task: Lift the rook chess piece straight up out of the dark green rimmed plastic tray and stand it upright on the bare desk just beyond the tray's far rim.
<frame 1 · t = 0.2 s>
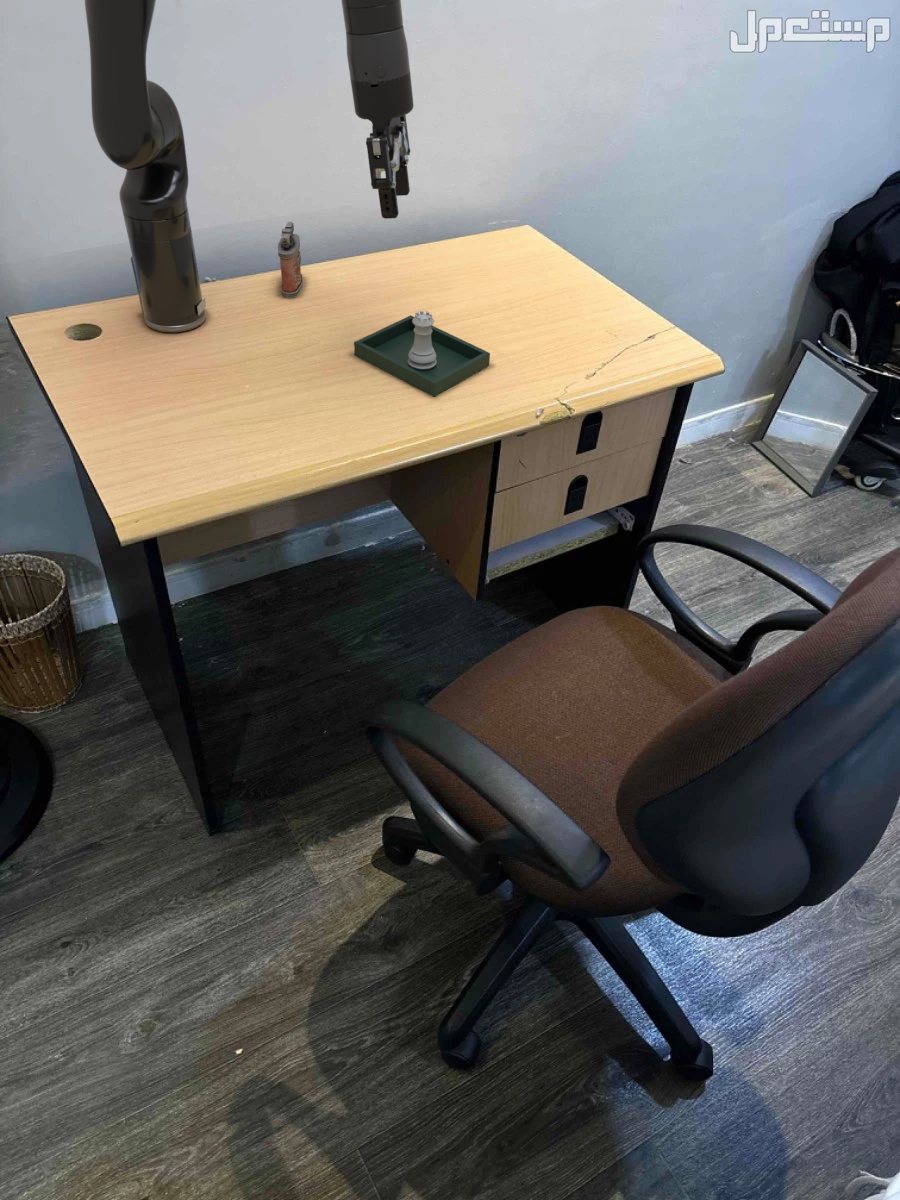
hand: (396, 205, 120), 22 cm above the table, tool pointing down, fingers open, 8 cm apart
tray: (421, 360, 134), on the table
lighter: (292, 288, 150), on the table
rook chess piece: (422, 365, 133), resting on tray
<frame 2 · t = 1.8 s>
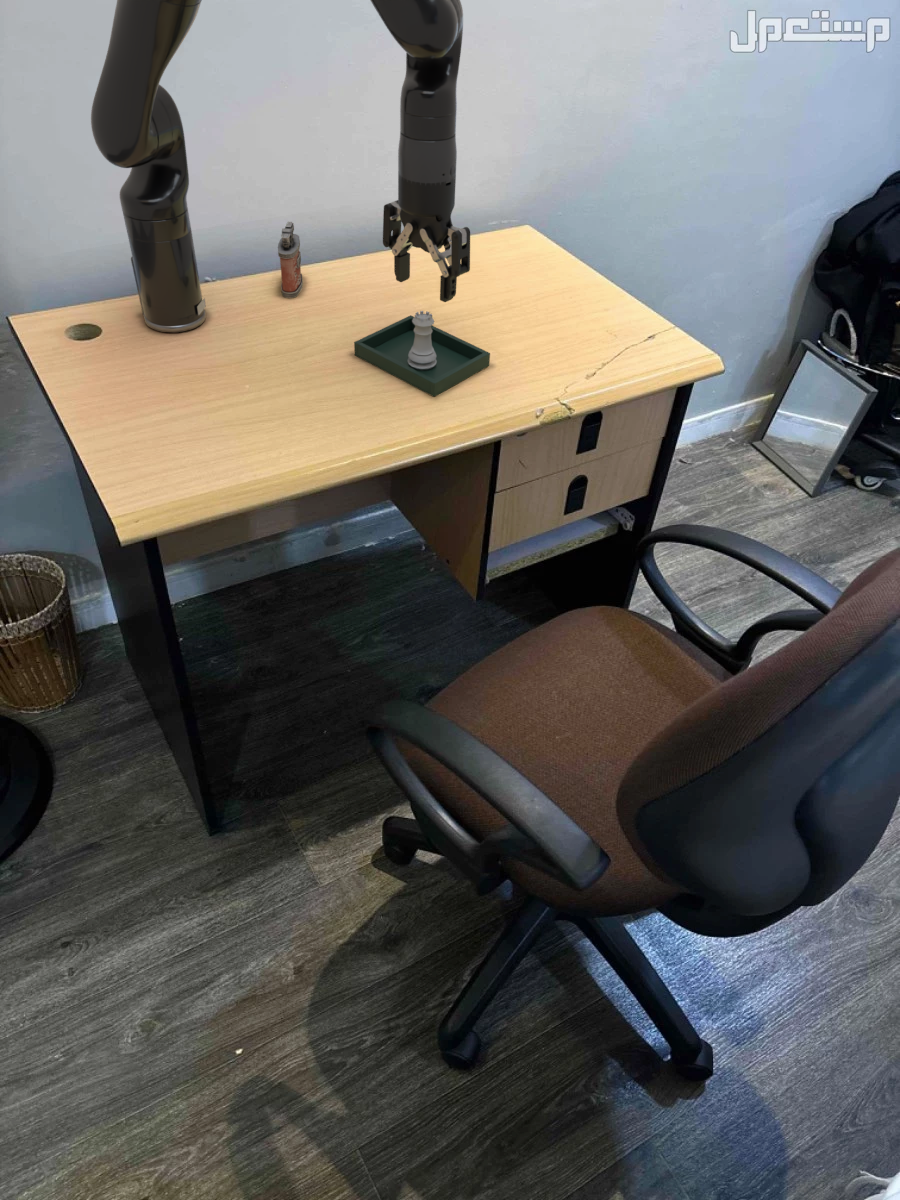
hand: (424, 289, 125), 12 cm above the table, tool pointing down, fingers open, 8 cm apart
nothing on the table moved.
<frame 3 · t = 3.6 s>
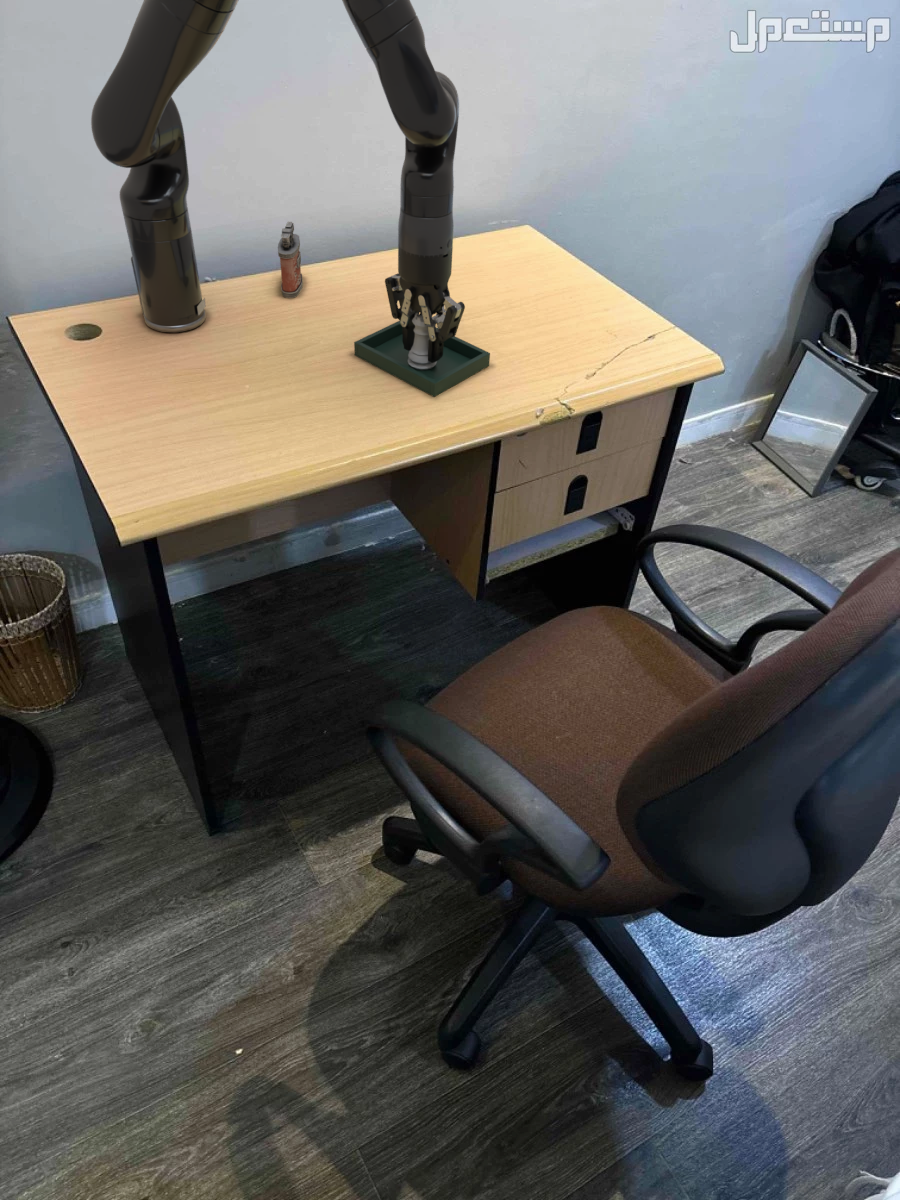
hand: (422, 354, 132), 2 cm above the table, tool pointing down, fingers closed on rook chess piece, 4 cm apart
rook chess piece: (422, 365, 133), resting on tray, touching gripper
everything else where it was.
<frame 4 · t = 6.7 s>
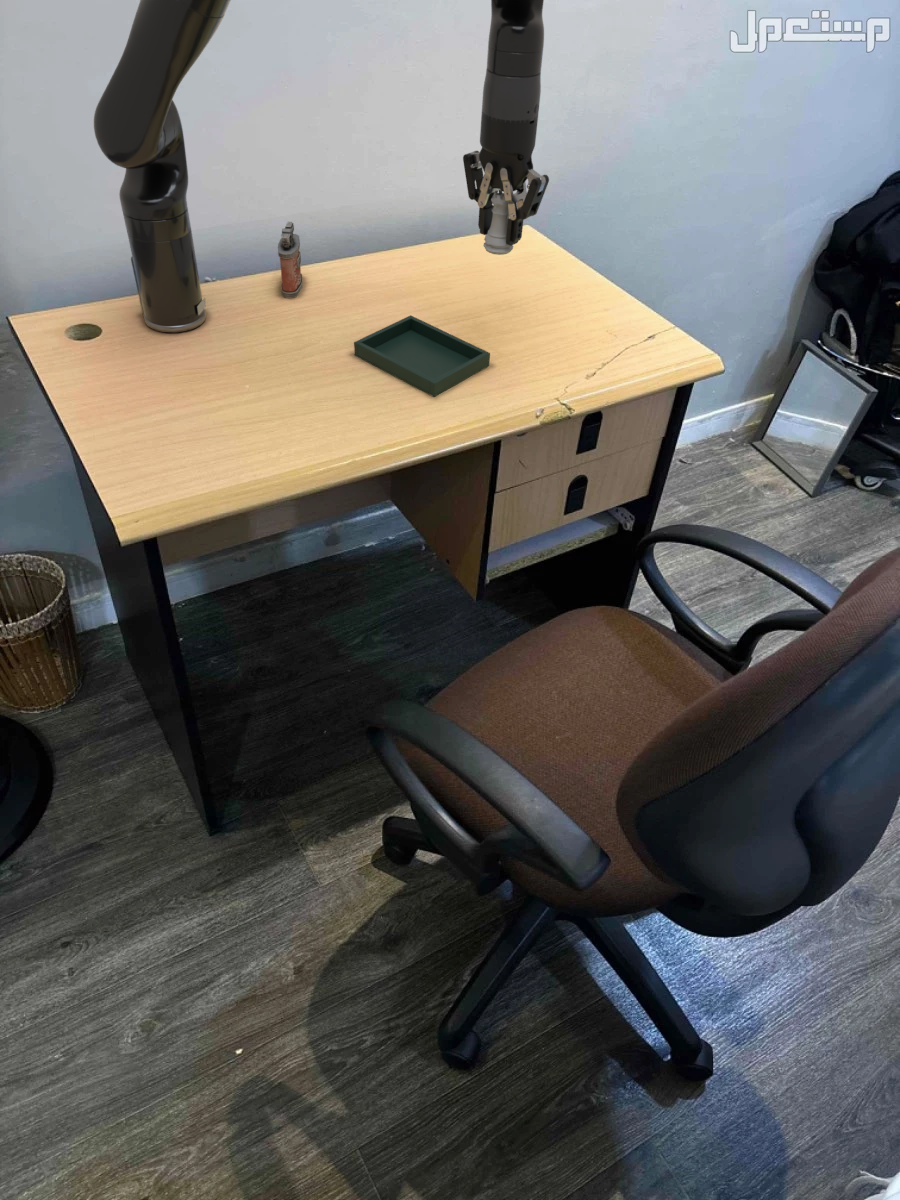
hand: (499, 237, 127), 17 cm above the table, tool pointing down, fingers closed on rook chess piece, 4 cm apart
rook chess piece: (497, 250, 129), point 15 cm above the table, touching gripper
everything else where it was.
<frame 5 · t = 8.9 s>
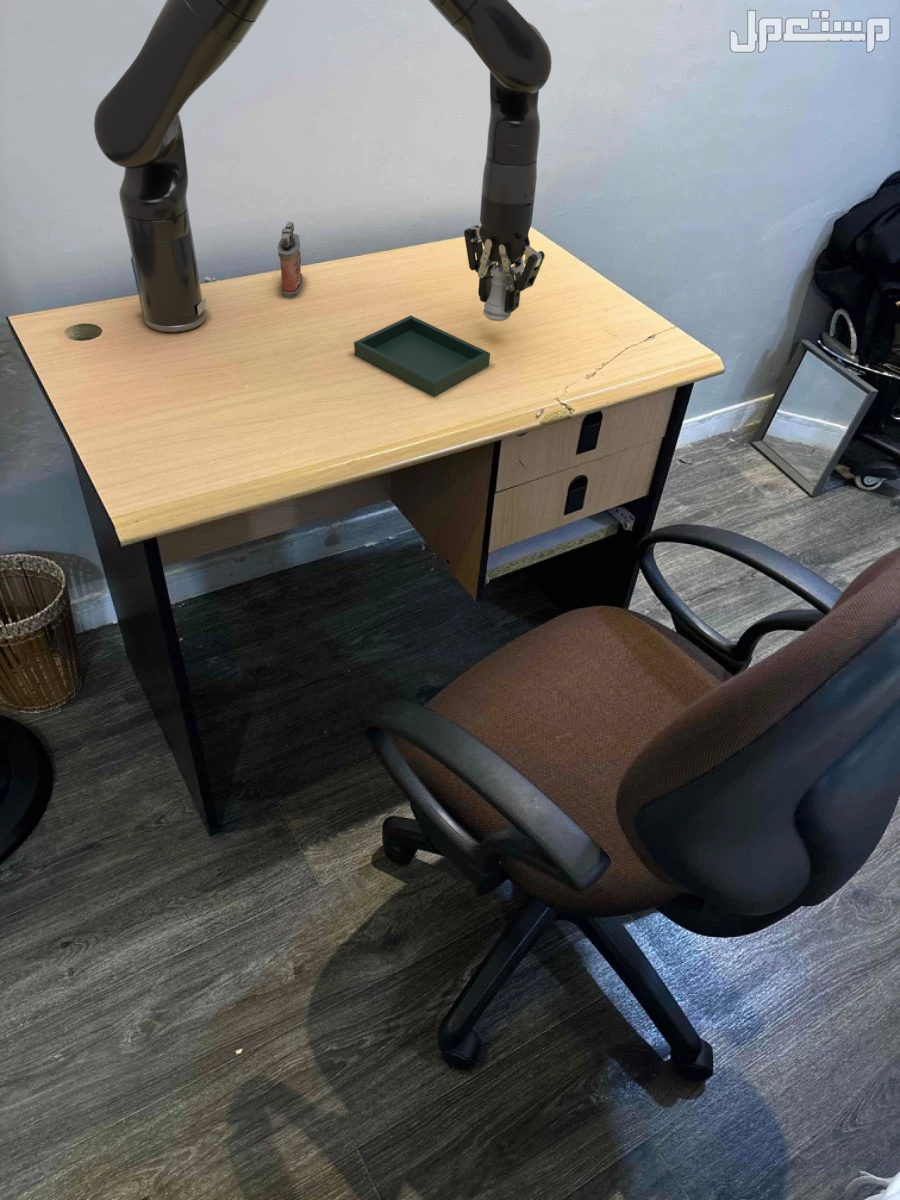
hand: (498, 305, 135), 6 cm above the table, tool pointing down, fingers closed on rook chess piece, 4 cm apart
rook chess piece: (496, 316, 137), point 4 cm above the table, touching gripper
everything else where it was.
when the fingers open (2 cm above the table, at t = 10.3 s): rook chess piece stays where it is, on the table.
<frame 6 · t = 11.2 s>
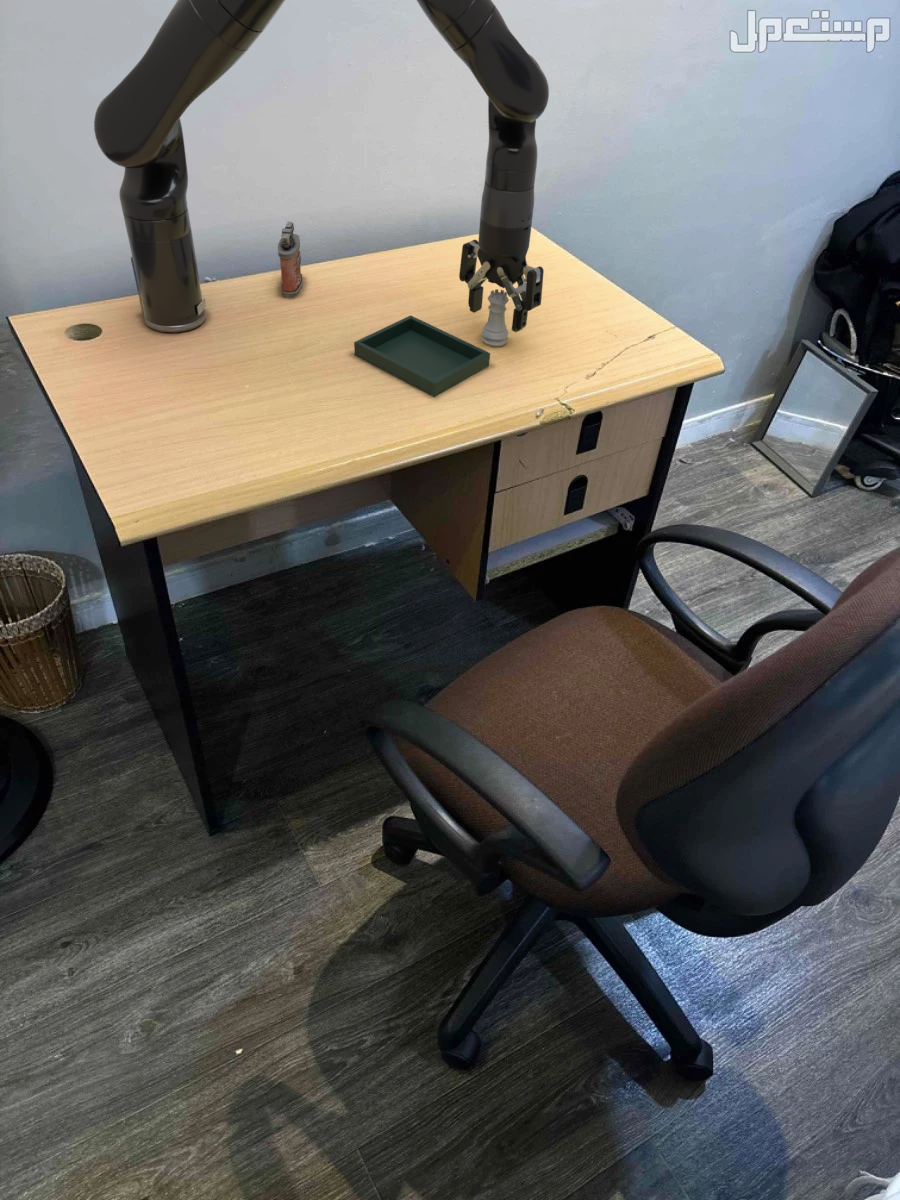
hand: (496, 320, 137), 4 cm above the table, tool pointing down, fingers open, 8 cm apart
rook chess piece: (494, 342, 140), on the table
everything else where it was.
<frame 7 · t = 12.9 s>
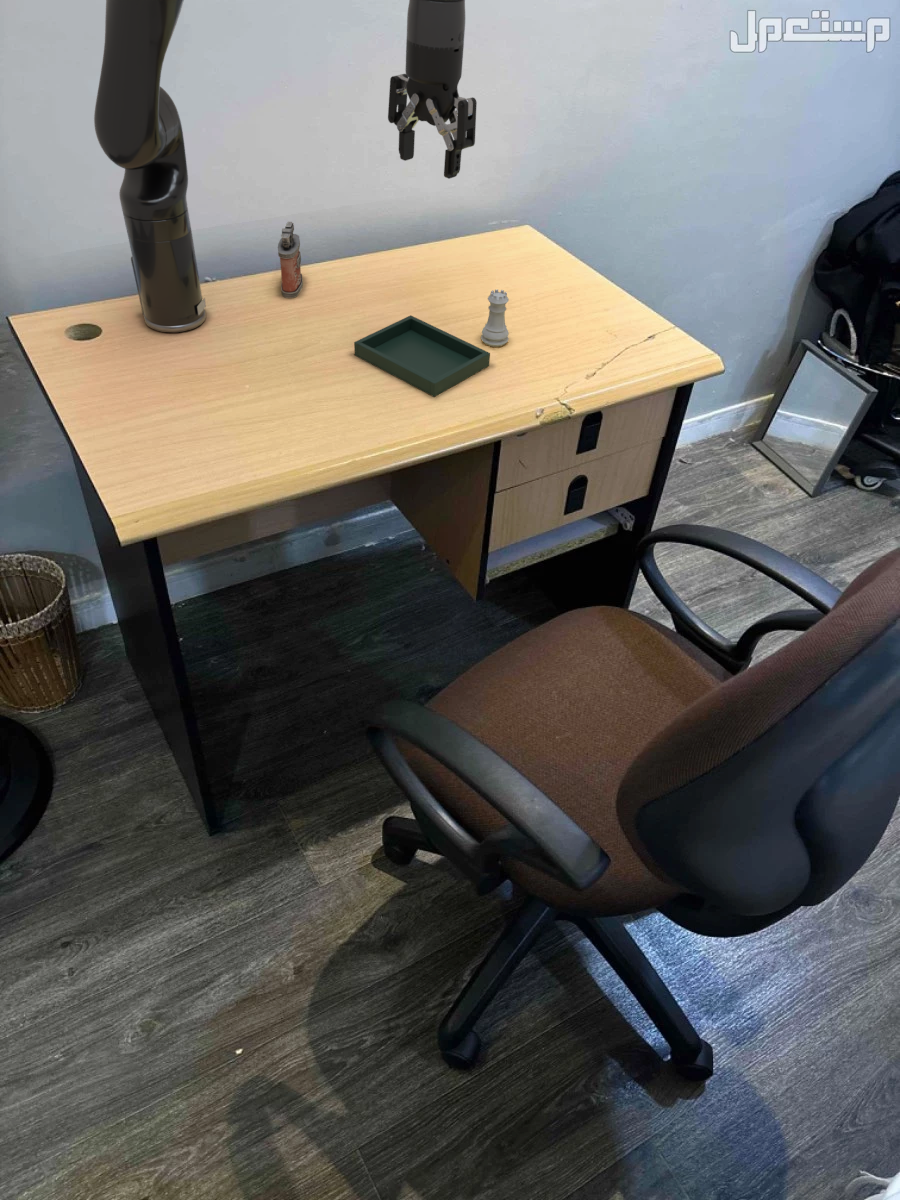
hand: (428, 167, 125), 24 cm above the table, tool pointing down, fingers open, 8 cm apart
nothing on the table moved.
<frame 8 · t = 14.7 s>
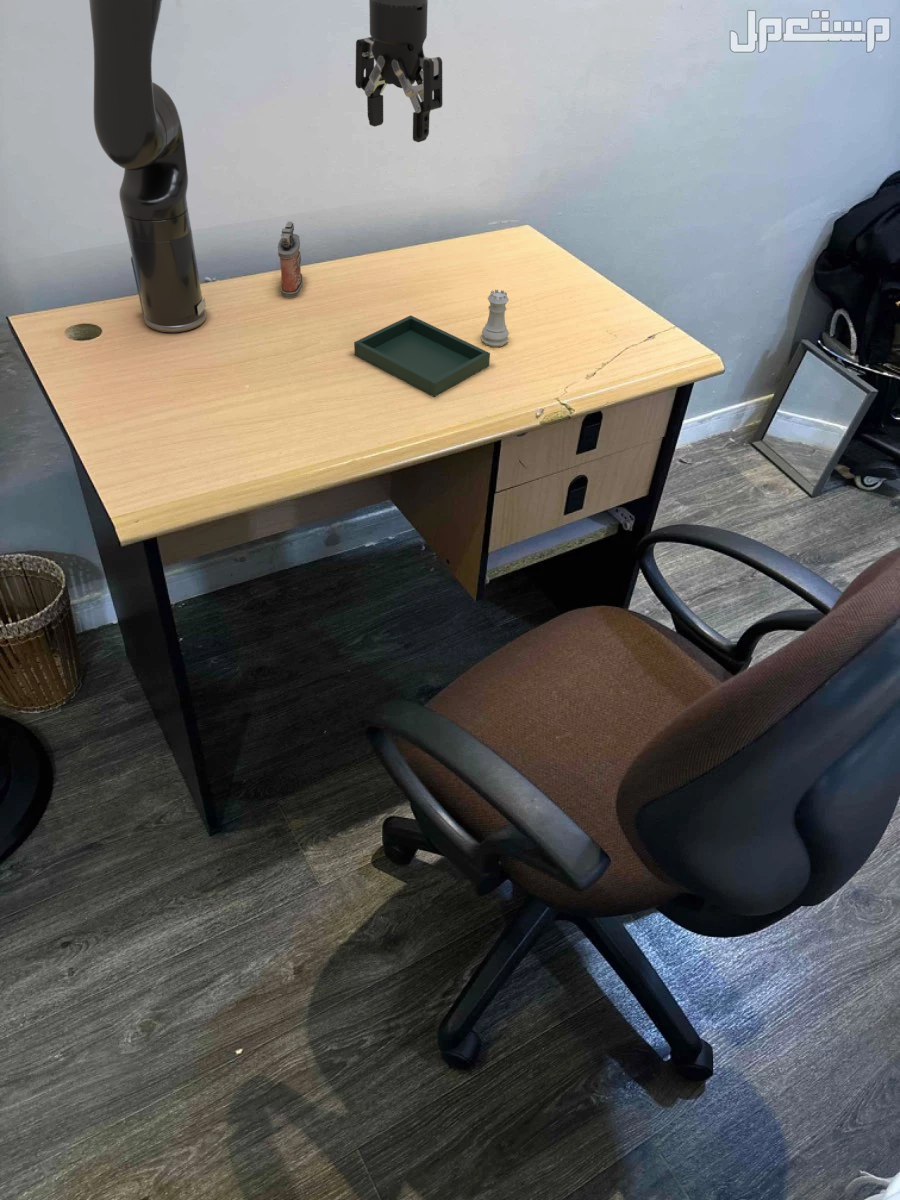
hand: (397, 132, 124), 28 cm above the table, tool pointing down, fingers open, 8 cm apart
nothing on the table moved.
at the end: rook chess piece inside the target area (0.1 cm from its centre), on the table; rook chess piece tilted 0°; rook chess piece touching table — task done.
